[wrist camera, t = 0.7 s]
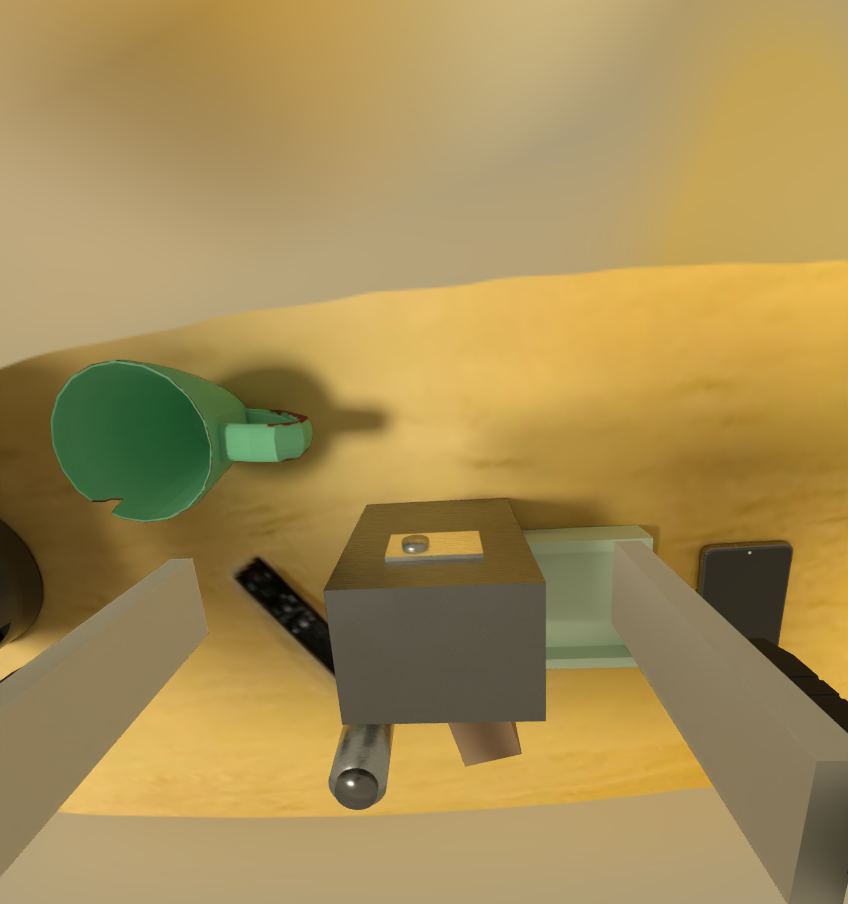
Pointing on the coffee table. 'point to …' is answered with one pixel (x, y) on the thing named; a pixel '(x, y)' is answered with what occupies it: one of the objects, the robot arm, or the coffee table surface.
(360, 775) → the cartridge
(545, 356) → the coffee table surface
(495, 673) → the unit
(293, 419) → the mug
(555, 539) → the tray
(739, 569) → the smartphone
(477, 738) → the walnut block
